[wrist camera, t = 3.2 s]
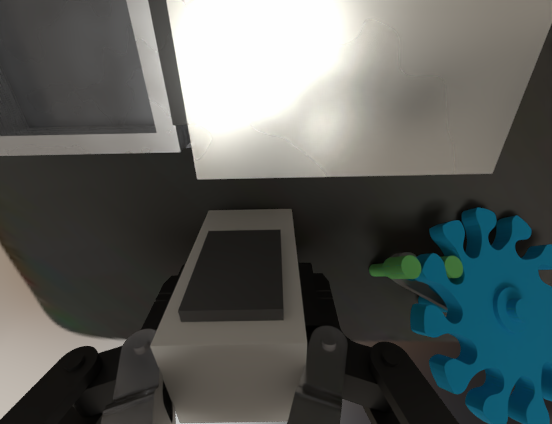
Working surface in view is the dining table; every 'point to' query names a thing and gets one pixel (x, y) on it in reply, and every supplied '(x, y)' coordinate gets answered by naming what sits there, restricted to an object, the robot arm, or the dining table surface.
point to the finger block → (235, 321)
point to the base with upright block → (270, 82)
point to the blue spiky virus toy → (485, 313)
